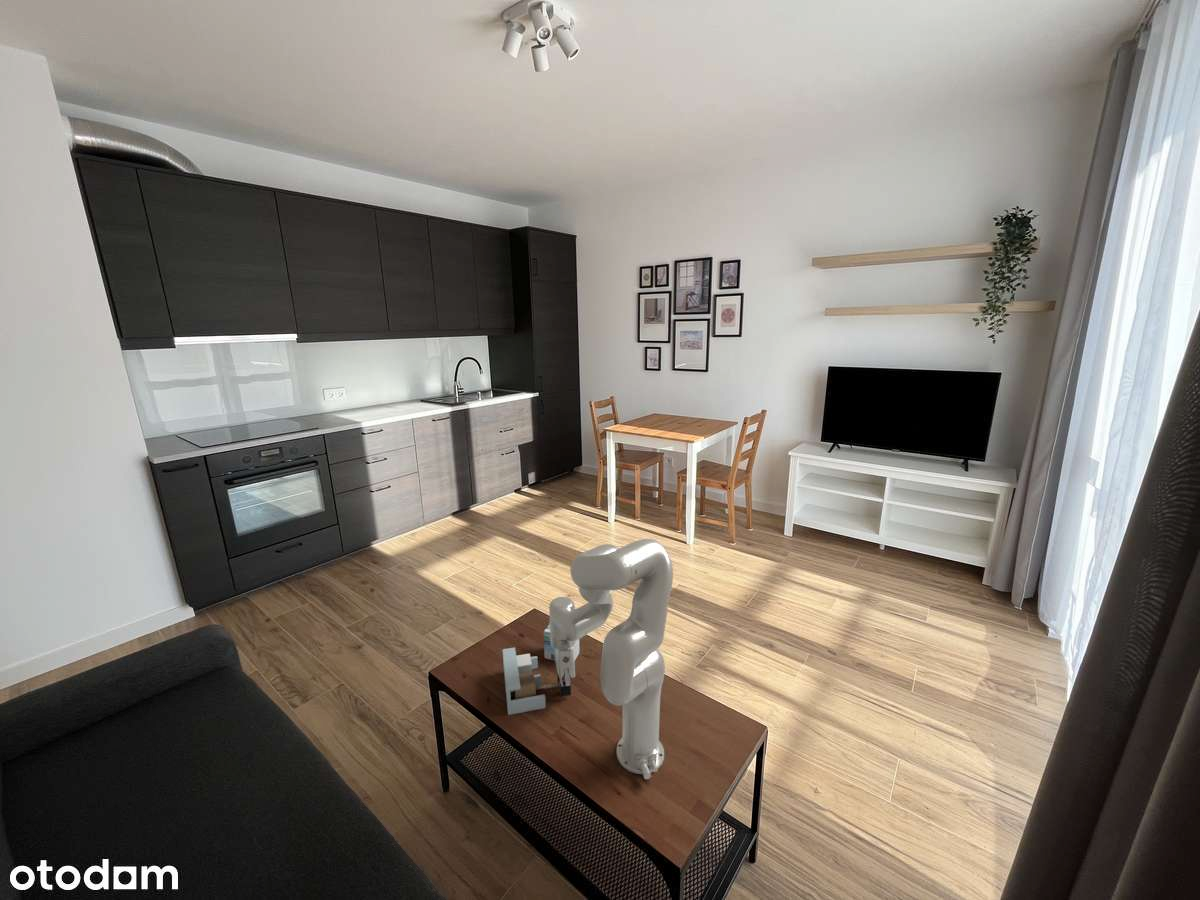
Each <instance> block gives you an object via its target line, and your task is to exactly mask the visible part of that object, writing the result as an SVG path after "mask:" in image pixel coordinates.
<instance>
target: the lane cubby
mask: <svg viewBox="0 0 1200 900" xmlns="http://www.w3.org/2000/svg"><path fill="white" fill-rule="evenodd" d="M516 656H517V652H516V647H510V648H503V649H502V658H503V659H502V662H503V663H502V664H503V675H504V685H505V697H506V698H505V699H506V706H507V707H506V708H507V716H510V715H515V714H521V713H526V712H533V711H536V710H541V709H546V708H547V707H546V706H547V705H546V695H545V694H539V695H536V696H532V697H527V698H521V699H516V700H515V699H511V696H512V695H511V693H514V691H515V690H520V689H521V687H520V679H519V672H518V665H517V658H516ZM530 657H531V663H532V670H535V669H536V670H537V669H538V668H539V664H538V663H539V662H538V656H536V655H535V656H530ZM534 680H535V686H541V685H542V674H541V673H539V674H534Z"/></svg>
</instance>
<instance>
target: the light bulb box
mask: <svg viewBox="0 0 1200 900" xmlns="http://www.w3.org/2000/svg"><path fill="white" fill-rule="evenodd" d="M543 639H544V640H543V641H544V643H543V644H544V645H543V647H544V650H543V653H544V659H547V660H551V661H555V656H554V648H553V647H552V646H551V644H550V622H549V623H548V625H547V627H546V628H545V629H544V631H543ZM573 652H574V662H575V661H576V659H577V657H578V656H579V654H580V639H578V640H576V641H575V645H574V646H573Z"/></svg>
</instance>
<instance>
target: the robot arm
mask: <svg viewBox="0 0 1200 900" xmlns="http://www.w3.org/2000/svg"><path fill="white" fill-rule="evenodd" d="M570 577H571V580H572V581H573V583H574V584H575V585H576V586H577V587H578V592H579V595H580V596H581V597H582V598H583V600H585V601H586V602H588V603H584V604H583V605H581V606H580V607H577V608H576V606H575V602H574V600H573V599H572V598H570V597H567V596H558V597H555V598H553V599H552V600H551V601H550V603H549V609H548V610H549V612H548V613H549V614H548V615H549V623H550V644H551V646H552V647H553V648H554V656H555V660H554V663H555V666H556V670H557V683H558V682H560V679H561V684H560V686H559V695H560V697H561V698H562V697H567V696H571V695H572V683H571V678H572V679H574V678H575V677H576V669H575V668H576V667H575V666H576V665H575V661H574V652H573V646H574V645H575V641H576V640H578V639H579V640H580V639H582V638H583V637H585V636H586V635H588V634H589V633H591V632H593V631H596V630H597V629H598V628H601V627H602V626H603V625H604V624H605V623H606V622H607V620H608V619H609V617H610V614H611V613H612V610H613V607H614V600H613V597H612V593H611V592H612V591H619V590H621V589H624V588H626V587H628V586H631V585H632V584H634V583H636V582H637V581H639V583H638V585H637V587H636V589H635V591H634V594H633V595H632V596H633V597H632V601H631V602H632V604H631V612H630V615H629V616H628V617H627V618H626V619H625V620H624V621H622V622H620V623H619V624H617V625H616V626H614V627H613V628H612V629H610V630H609V631H608V633H607V634H606V636H605V637H604V640H603V643H602V651H601V653H602V654H601V661H600V677H599V679H600V681H599V682H600V687H601V692H602V693H603V695H604V697H605V699H606V701H608V702H609V703H610V704H612V705H613V706H618V707H622V737H621V738H620V739H619V740H618V743H617V745H616V757H617V761H618V763H619V764H620V765H621V766H622V767H623V769H624V770H627V771H628V772H630V773H633V774H635V775H636V774H638V775H642V776H643V779H644V780H649V779H651V777H652V773H657V772H658V770H659V768H660V767H661V766H662V765H663V762H664V759H665V749H664V746H663V744H662V742H661V741H660V740H659V739H660V714H661V713H660V710H661V709H660V707H661V694H662V693H661V691H662V688H663V687H662V686H663V682H664V678H665V673H666V668H665V667H666V663H665V660H664V656H663V653H662V652H661V651H660V650H659V648H660V647H661V645H662V644H663V642H664V636H665V630H666V624H667V623H666V622H667V617H668V608H669V600H670V596H671V592H672V588H673V587H672V586H673V582H674V569H673V563H672V560H671V557H670V555H669V553H668V551H667V550H666V548H665V547H664V546H663V544H662V543H660V542H659V541H658V540H656V539H652V538H643V539H639V540H635V541H633V542H631V543H628V544H625V545H624V546H622V547H618V546H616V545H613V544H608V543H606V544H600V545H598V546H596V547H593V548H590V549H589V550H586V551H584V552H581V553H579V554H578V555H576V556H575V557H574V558H573V559H572V562H571V565H570ZM563 679H565V681H563Z"/></svg>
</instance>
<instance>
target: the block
mask: <svg viewBox="0 0 1200 900" xmlns="http://www.w3.org/2000/svg"><path fill="white" fill-rule="evenodd" d="M531 657H532V656H531V653H525V654H524V653H523V654H519V655H517V654H516V658H517V665H518V672H519V675H522V674H528V673H533V669H532V663H531Z"/></svg>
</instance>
